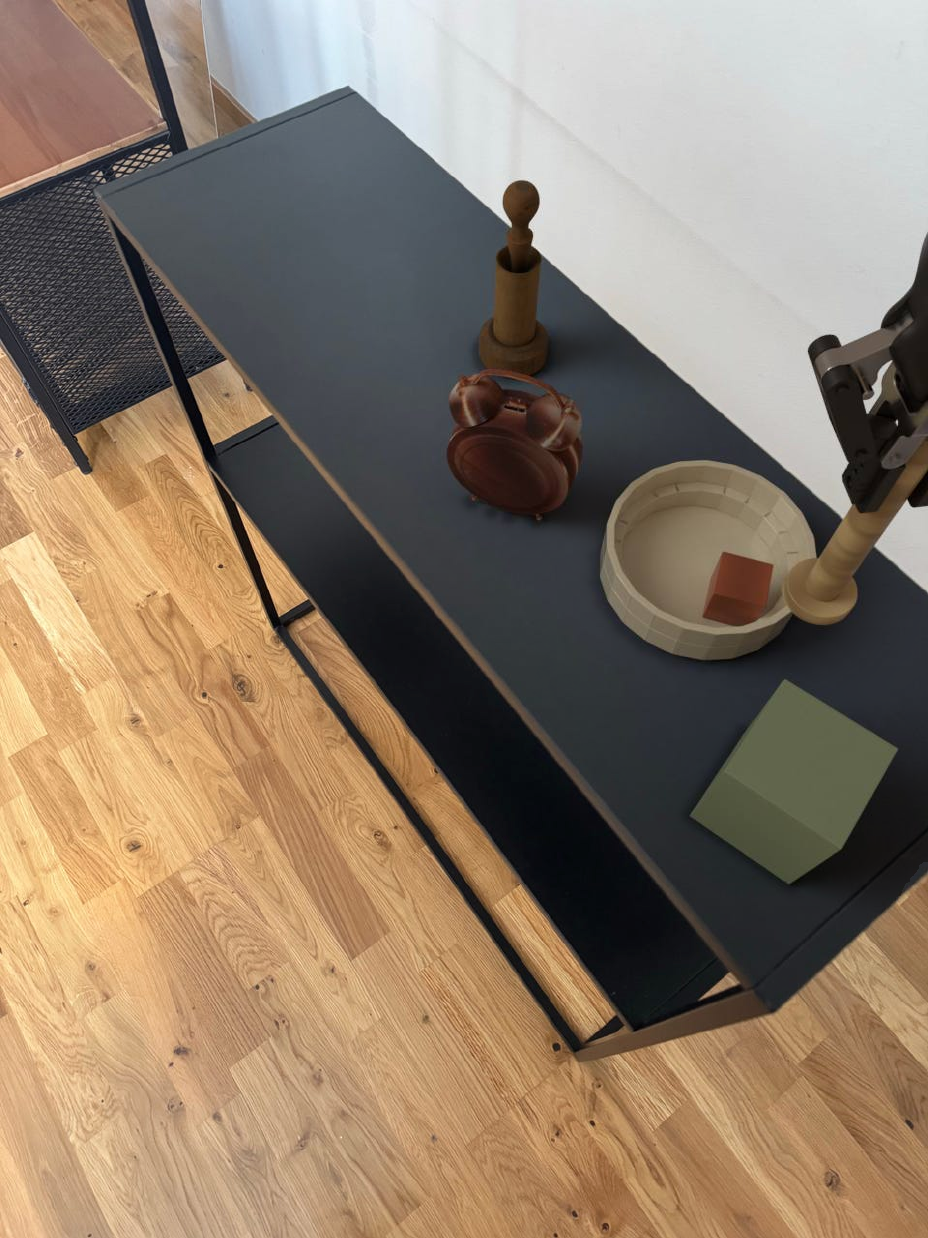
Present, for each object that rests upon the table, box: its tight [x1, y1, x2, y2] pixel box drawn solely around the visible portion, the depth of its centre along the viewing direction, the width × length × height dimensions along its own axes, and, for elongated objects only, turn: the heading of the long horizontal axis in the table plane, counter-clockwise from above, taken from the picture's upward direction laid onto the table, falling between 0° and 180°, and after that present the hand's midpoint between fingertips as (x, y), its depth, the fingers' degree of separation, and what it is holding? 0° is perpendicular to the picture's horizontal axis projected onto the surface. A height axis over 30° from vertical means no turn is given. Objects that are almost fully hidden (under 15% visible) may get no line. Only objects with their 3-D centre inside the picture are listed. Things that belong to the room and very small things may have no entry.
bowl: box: [599, 459, 817, 661], centre depth 71 cm, size 16×16×5 cm
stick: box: [782, 437, 928, 626], centre depth 45 cm, size 4×4×15 cm
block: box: [702, 552, 774, 627], centre depth 70 cm, size 4×4×4 cm
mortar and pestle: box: [478, 179, 549, 376], centre depth 78 cm, size 7×6×18 cm
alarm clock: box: [446, 368, 584, 521], centre depth 71 cm, size 11×5×15 cm, turn 69°
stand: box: [689, 678, 899, 885], centre depth 60 cm, size 8×8×10 cm
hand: (886, 494), depth 43 cm, fingers closed on stick, 2 cm apart
